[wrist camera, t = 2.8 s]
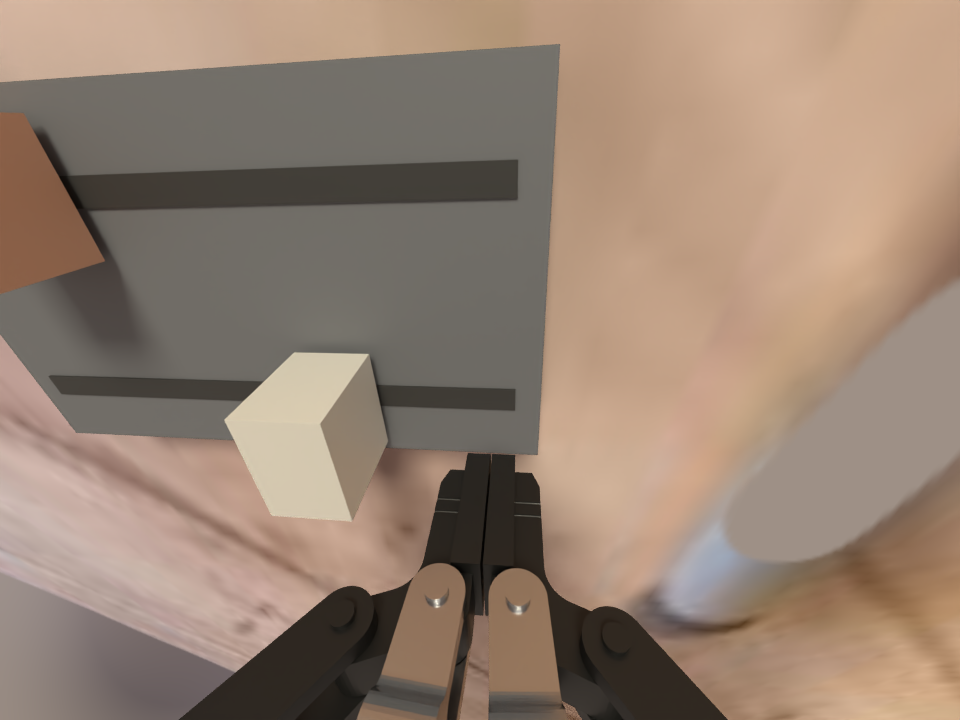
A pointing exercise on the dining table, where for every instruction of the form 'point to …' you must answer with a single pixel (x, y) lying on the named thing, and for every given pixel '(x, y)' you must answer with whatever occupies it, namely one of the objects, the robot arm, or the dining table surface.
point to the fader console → (300, 241)
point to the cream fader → (312, 435)
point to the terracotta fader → (36, 213)
